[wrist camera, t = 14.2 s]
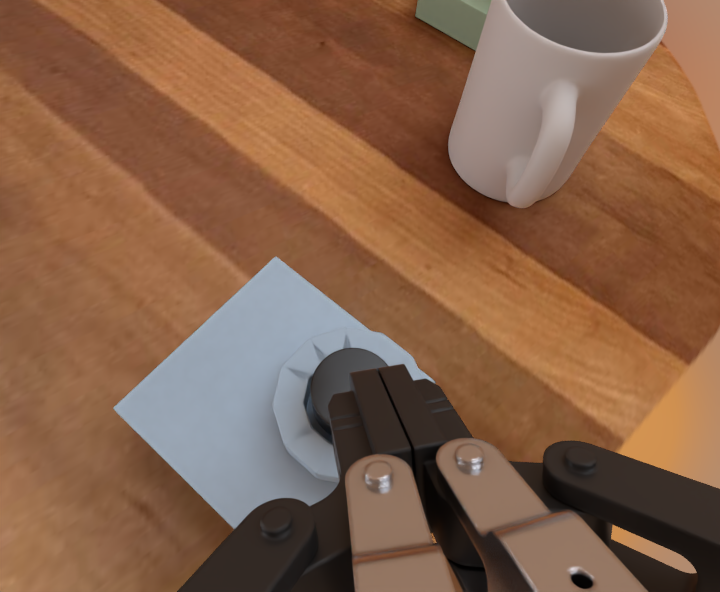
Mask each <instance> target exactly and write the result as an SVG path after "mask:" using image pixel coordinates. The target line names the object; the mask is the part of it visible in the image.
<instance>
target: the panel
mask: <svg viewBox="0 0 720 592" xmlns="http://www.w3.org/2000/svg"><path fill="white" fill-rule="evenodd" d="M490 4H491V0H418V2H417V8H416V14H415V16H416V17H417V18H419V19H421V20H423V21H424V22H426V23H428V24H430V25H431V26H433V27H435V28H437V29H438V30H440V31H442V32H444V33H445V34H447V35H449V36H451V37H452V38H454V39H456V40H458V41H459V42H461V43H463V44H465V45H466V46H468V47H470V48H472V49H473V50H475V51H476V49H477V46H478V43H479V39H480V36H481V33H482V30H483V26H484V23H485V20H486V17H487V13H488V10H489V7H490Z"/></svg>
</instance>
